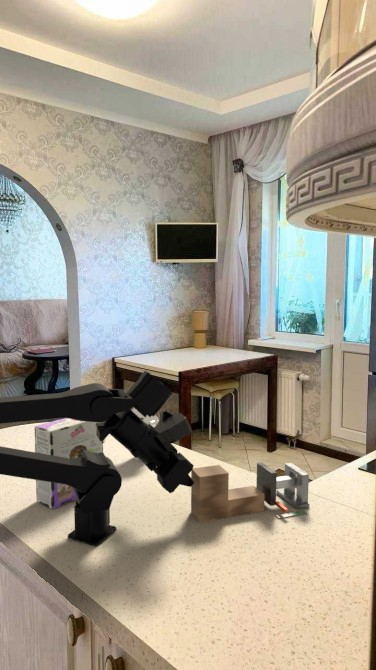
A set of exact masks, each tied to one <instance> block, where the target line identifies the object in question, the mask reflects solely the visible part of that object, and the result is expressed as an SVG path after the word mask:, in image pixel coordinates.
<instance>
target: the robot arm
mask: <svg viewBox="0 0 376 670" xmlns="http://www.w3.org/2000/svg"><path fill="white" fill-rule="evenodd" d="M173 395H174V393H173V391H171V389H170V388H168V387H167V385H165V384H164V383H163V382H161V381H160V380H159V379H157V378H156V377H155V376H153V375H152V373H150V372H148V370H144V371H143V372H142V373H141V374H140V376H139V377H138V379H137V380H136V382H135V383H134V384H133V385H132V386H131V387H130V388H129V389H128V391H126V390H125V389H117V388H113V389H112V388H107V387H106V386H105V385H104V384H101V383H97V382H94V383H88V384H84V385H80V386H77V387H73V388H71V389H68V390H67V391H62V392H58V393H44V394H43V393H42V394H32V395H31V394H30V395H18V396H16V395H15V396H4V397H3V396H2V397H0V424H9V423H20V422H21V423H22V422H30V421H41V420H52V419H64V418H69V419H74V420H79V421H88V422H101V423H96V428H97V432H96V435H97V437H98V439H99V440H100V441H103V440H104V439H105V438H106V439H107V437H108V436H109V435H110V436H111V437H112V438H114V439H115V440H116V441H117V442H119V444H120V445H122V446H123V447H124V448H125V449H126V450H127V451H128V452H129V453H130V454H131V456H133V458H134V457H135V458H138V459H139V460H141V461H140V462H142V463H143V464H144V465H145V467H146V468H147V469H148V470H149V471H151V472H154V473H155V475H156V481H158V483H159V484H160V486H161V487H162V489H164V490H165V491H167V493H169V494H172V493H174V492H175V490H177V489H178V487H179V486H180V485H181V486H184V487H189V488H191V486H192V485H193V484H194V481H193V480H192V479H191V475H190V473H191V471H192V469H193V468H194V464H193V463H191V462H190V460H189V459H188V458H186V457H185V456H184V455H183V454H182V453H181V452H178V449H177V448H176V447H175V446H174V445H173V444H174V443H176V442H178V441H180V440H181V439H183V438H184V437H188V436H190V435H192V433H193V430H192V428H191V426H190V424H189V421H188V419H187V418H186V416H184V415H183V414H182V413H181V412H176V411H174V413H171V412H170V411H168V409H165V410H162V409H161V408H163V407H164V405H165V404H166V403H167V402H168V401H169V400H170V399H171V398H172V397H173ZM134 408H135V409H136V410H137V411H138V412H139V413H141V414H142V415H143V416H144V417H146V416H147V415H148V416H149V417H151V416H153V417H154V416H155V415H156V414H158V413H159V412H160V410H162V411H161V412H160V413H159V422H158V423H157V424H156V426H155V427H152V426H151V425H150V424H147V423H145V422H144V421H143V420H142V419H141V418H139V417H138V416H137V415H136V414H135V413H134V412H133V411H132V410H133V409H134ZM0 475H2V476H9V477H13V478H14V477H16V478H21V479H29V480H33V481H36V480H40V481H46V482H53V483H59V484H65V485H69V486H71V487H72V488H73V489H74V492H75V495H76V497H77V499H76V502H75V505H74V507H73V510H74V529H73V530H72V531H71V532H69V533H68V534H67V539H69V540H70V539H71V540H74V541H77V542H81V543H84V544H88V545H92V546H99V545H100V544H101V543H103V542H104V541H105V540H106V539H108V538H109V537H110V536H111V535H112V534H114V533H115V531H117V526H114V525H111V524H110V523H111V521H110V519H111V518H110V511H111V505H112V502H113V500H114V497H115V495H117V494H118V492H119V491H120V489H121V487H122V484H123V483H122V482H123V480H122V475H121V474H120V472H119V470H118V469H117V467H116V466H115V464H114V463H113V461H112V460H111V458H109V457H108V456H106V454H105V453H104V451H103V452H101V453H93V452H90V451H88V450H82V457H77V458H64V457H58V456H52V455H47V454H41V453H35V451H28V450H24V449H19V448H18V449H17V448H11V447H7V446H1V445H0Z"/></svg>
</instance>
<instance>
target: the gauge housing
mask: <svg viewBox="0 0 376 670" xmlns="http://www.w3.org/2000/svg"><path fill="white" fill-rule="evenodd" d="M294 474H296V475H297V486H295V487H289V488H283V489H276V495H277V496H279V497H280V498H282V499H283V500H284V501H285V502H286V503H288V504H289V505H290V506H291V507H292V508H295V510H297V511H291V512H286V513H285V512H284V513H281V514H280V513H279V514H276V515H275V517H276V518H277V519H278V520H279V519H284V518H291V517H297V516H302V515H306V514H308V512H307V511H306V510H304V509H308V508H310V503H309V484H310V483H309V479H310V474H309V473H307V472H306V471H304V470H302V469H301V468H300V467H298V466H297V465H295V464H294V463H292V462H287V463H284V476H288V475H294Z"/></svg>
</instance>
